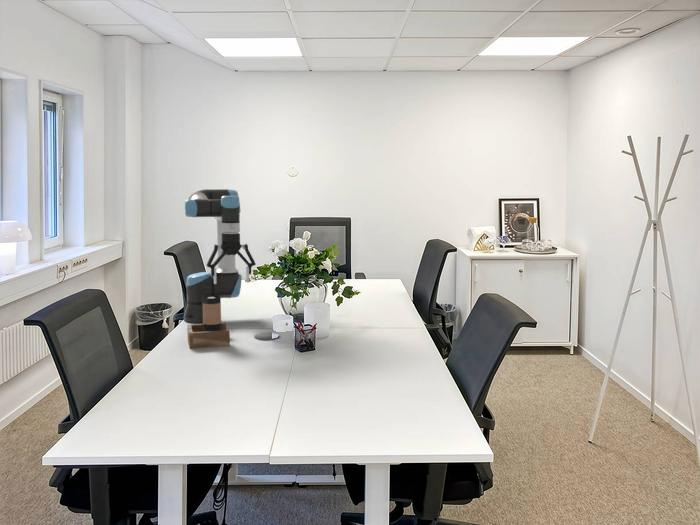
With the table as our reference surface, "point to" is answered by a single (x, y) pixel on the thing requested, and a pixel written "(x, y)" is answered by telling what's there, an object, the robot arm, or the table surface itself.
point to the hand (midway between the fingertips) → (231, 282)
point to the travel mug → (212, 313)
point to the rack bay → (207, 336)
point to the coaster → (263, 336)
